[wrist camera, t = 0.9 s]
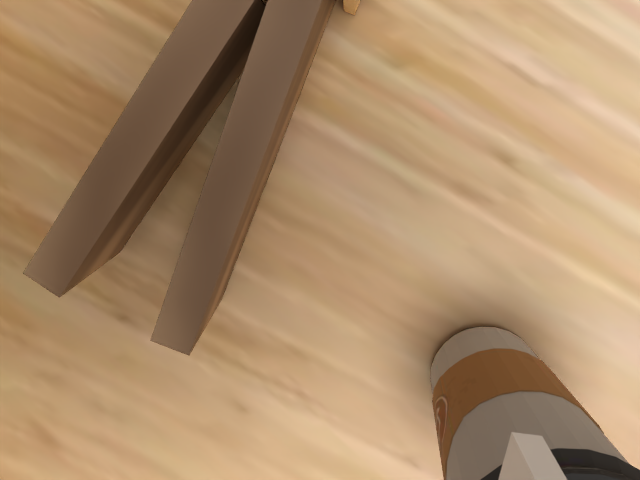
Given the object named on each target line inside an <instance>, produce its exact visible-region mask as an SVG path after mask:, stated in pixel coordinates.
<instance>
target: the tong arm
mask: <svg viewBox="0 0 640 480" xmlns="http://www.w3.org/2000/svg"><path fill="white" fill-rule="evenodd" d="M265 7H266V6H265V5H264V4H263V3H262V2H261V1H260V0H192V2H191V3H190V5H189V6H188V8H187V10H186V11H185V13H184V14H183V16H182V18H181V19H180V21H179V23H178V24H177V26H176V27H175V29H174V31H173V32H172V34H171V35H170V37H169V39H168V40H167V42H166V43H165V45H164V47H163V48H162V50H161V52H160V53H159V55H158V56H157V58H156V60H155V61H154V63H153V64H152V66H151V68H150V69H149V71H148V72H147V74H146V76H145V77H144V79H143V80H142V82H141V84H140V85H139V87H138V89H137V90H136V92H135V93H134V95H133V97H132V98H131V100H130V101H129V103H128V105H127V106H126V108H125V109H124V111H123V113H122V114H121V116H120V118H119V119H118V121H117V122H116V124H115V126H114V127H113V129H112V130H111V132H110V134H109V135H108V137H107V138H106V140H105V142H104V143H103V145H102V147H101V148H100V150H99V151H98V153H97V155H96V156H95V158H94V159H93V161H92V163H91V164H90V166H89V167H88V169H87V171H86V172H85V174H84V176H83V177H82V179H81V180H80V182H79V184H78V185H77V187H76V188H75V190H74V192H73V193H72V195H71V196H70V198H69V200H68V201H67V203H66V205H65V206H64V208H63V209H62V211H61V213H60V214H59V216H58V217H57V219H56V221H55V222H54V224H53V225H52V227H51V229H50V230H49V232H48V233H47V235H46V237H45V238H44V240H43V242H42V243H41V245H40V246H39V248H38V250H37V251H36V253H35V254H34V256H33V258H32V259H31V261H30V262H29V264H28V266H27V267H26V269H25V271H24V272H23V274H25V275H26V276H28V277H29V278H31V279H32V280H34V281H35V282H37V283H38V284H40V285H41V286H43V287H44V288H46V289H47V290H49V291H50V292H52V293H53V294H55V295H56V296H58V297H59V298H60V297H61V296H62V295H64V294H65V293H66V292H68V291H69V290H70V289H72V288H73V287H74V286H76V285H77V284H78V283H79V282H81V281H82V280H83V279H85V278H86V277H87V276H89V275H90V274H91V273H93V272H94V271H95V270H97V269H98V268H99V267H101V266H102V265H103V264H105V263H106V262H107V261H109V260H110V259H111V258H113V257H114V256H115V255H117V254H118V253H119V252H120V251H121V250H122V248H123V247H124V245H125V244H126V242H127V241H128V239H129V238H130V236H131V235H132V233H133V232H134V230H135V229H136V227H137V226H138V225H139V223H140V222H141V220H142V219H143V217H144V216H145V214H146V213H147V211H148V210H149V208H150V207H151V205H152V204H153V202H154V201H155V199H156V198H157V196H158V195H159V193H160V192H161V190H162V189H163V188H164V186H165V185H166V183H167V182H168V180H169V179H170V177H171V176H172V174H173V173H174V171H175V170H176V168H177V167H178V165H179V164H180V162H181V161H182V159H183V158H184V156H185V155H186V153H187V152H188V151H189V149H190V148H191V146H192V145H193V143H194V142H195V140H196V139H197V137H198V136H199V134H200V133H201V131H202V130H203V128H204V127H205V125H206V124H207V122H208V121H209V119H210V118H211V116H212V115H213V114H214V112H215V111H216V109H217V108H218V106H219V105H220V103H221V102H222V100H223V99H224V97H225V96H226V94H227V93H228V91H229V90H230V88H231V87H232V85H233V84H234V82H235V81H236V79H237V78H238V77H239V75H240V74H241V72H242V71H243V69H244V68H245V65H246V62H247V59H248V56H249V53H250V50H251V48H252V45H253V42H254V39H255V36H256V33H257V30H258V27H259V24H260V21H261V19H262V16H263V13H264V10H265Z"/></svg>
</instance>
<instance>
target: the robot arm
mask: <svg viewBox="0 0 640 480" xmlns="http://www.w3.org/2000/svg"><path fill="white" fill-rule="evenodd" d="M498 480H567V479H566V477H565V475H564V473H563V472H562V470H561V468H560V466H559V465H558V463H557V461H556V459H555V458H554V456H553V454H552V452H551V451H550V449H549V447H548V445H547V444H546V442H545V440H544V438H543V437H542V436H539V435H531V434H523V433H515V432H511V436H510V440H509V443H508V447H507V450H506V454H505V457H504V461H503V465H502V468H501V472H500V475H499V479H498Z"/></svg>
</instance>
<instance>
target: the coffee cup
mask: <svg viewBox="0 0 640 480" xmlns="http://www.w3.org/2000/svg"><path fill="white" fill-rule="evenodd" d="M430 379H431V386H432V392H433V400H432V402H433V409H434V416H435V423H436V430H437V436H438V443H439V450H440V457H441V463H442V470H443V477H444V480H498V479H499V475H500V472H501V468H502V465H503V461H504V457H505V454H506V450H507V447H508V443H509V440H510V436H511V432H515V433H523V434H531V435H539V436H542V437H543V438H544V440H545V442H546V444H547V445H548V447H549V449H550V451H551V452H552V454H553V456H554V458H555V459H556V461H557V463H558V465H559V466H560V468H561V470H562V472H563V473H564V475H565V477H566V479H567V480H640V470H639V469H637V468H635V467H633V466H632V465H630V464H629V463H628V462H627V461H626V459H625V458H624V457H623V456H622V455H621V454H620V452H619V451H618V450H617V449H616V448H615V447H614V445H613V444H612V443H611V442H610V441H609V440H608V438H607V437H606V436H605V435H604V433H603V432H602V430H601V428H600V426H599V425H598V424H597V423H596V422H595V421H594V419H593V418H592V417H591V416H590V415H589V414H588V412H587V411H586V410H585V409H584V408H583V407H582V406H581V404H580V403H579V402H578V401H577V400H576V399H575V397H574V396H573V395H572V394H571V393H570V392H569V391H568V389H567V388H566V387H565V386H564V385H563V384H562V383H561V381H560V380H559V379H558V378H557V377H556V376H555V374H554V373H553V372H552V371H551V370H550V369H549V368H548V367H547V366H546V365H545V364H544V363H543V362H542V361H541V360H540V359H539V358H538V357H537V356H536V354H535V353H534V352H533V351H532V350H531V349H530V347H529V346H528V345H527V344H526V343H525V342H524V341H523V340H522V339H521V338H520V337H518V336H516V335H515V334H513V333H511V332H509V331H507V330H503V329H500V328H496V327H475V328H470V329H466V330H464V331H461V332H459V333H457V334H455V335H454V336H452V337H451V338H450V339H449V340H447V341H446V342H445V343H444V344H443V346H442V347H441V348H440V350H439V351H438V352H437V354H436V355H435V358H434V360H433V363H432V366H431V377H430Z"/></svg>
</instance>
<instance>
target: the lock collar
mask: <svg viewBox="0 0 640 480" xmlns="http://www.w3.org/2000/svg"><path fill="white" fill-rule="evenodd" d="M360 1H361V0H343V4H344V11H346V12H348V13H350V14H352V15H355V13H356V11H357V8H358V6H359V3H360Z"/></svg>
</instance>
